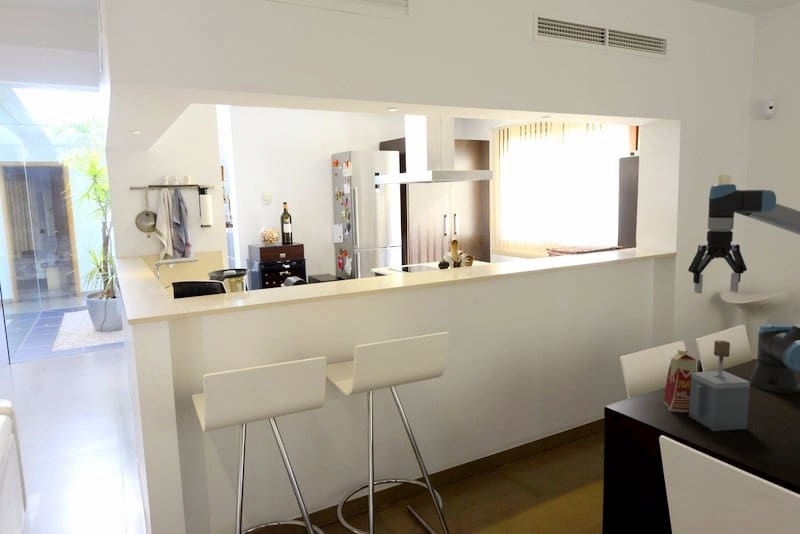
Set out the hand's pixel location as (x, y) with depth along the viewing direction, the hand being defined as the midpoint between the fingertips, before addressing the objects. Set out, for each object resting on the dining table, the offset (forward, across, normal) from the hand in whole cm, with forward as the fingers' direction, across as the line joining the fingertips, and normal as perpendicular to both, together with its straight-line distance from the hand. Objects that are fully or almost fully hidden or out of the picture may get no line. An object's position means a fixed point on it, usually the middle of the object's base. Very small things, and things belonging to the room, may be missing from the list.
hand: (716, 292), depth 188 cm
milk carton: (+37, +17, +8) cm, 41 cm away
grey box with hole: (+37, +14, +22) cm, 45 cm away
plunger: (+36, +14, +22) cm, 44 cm away
